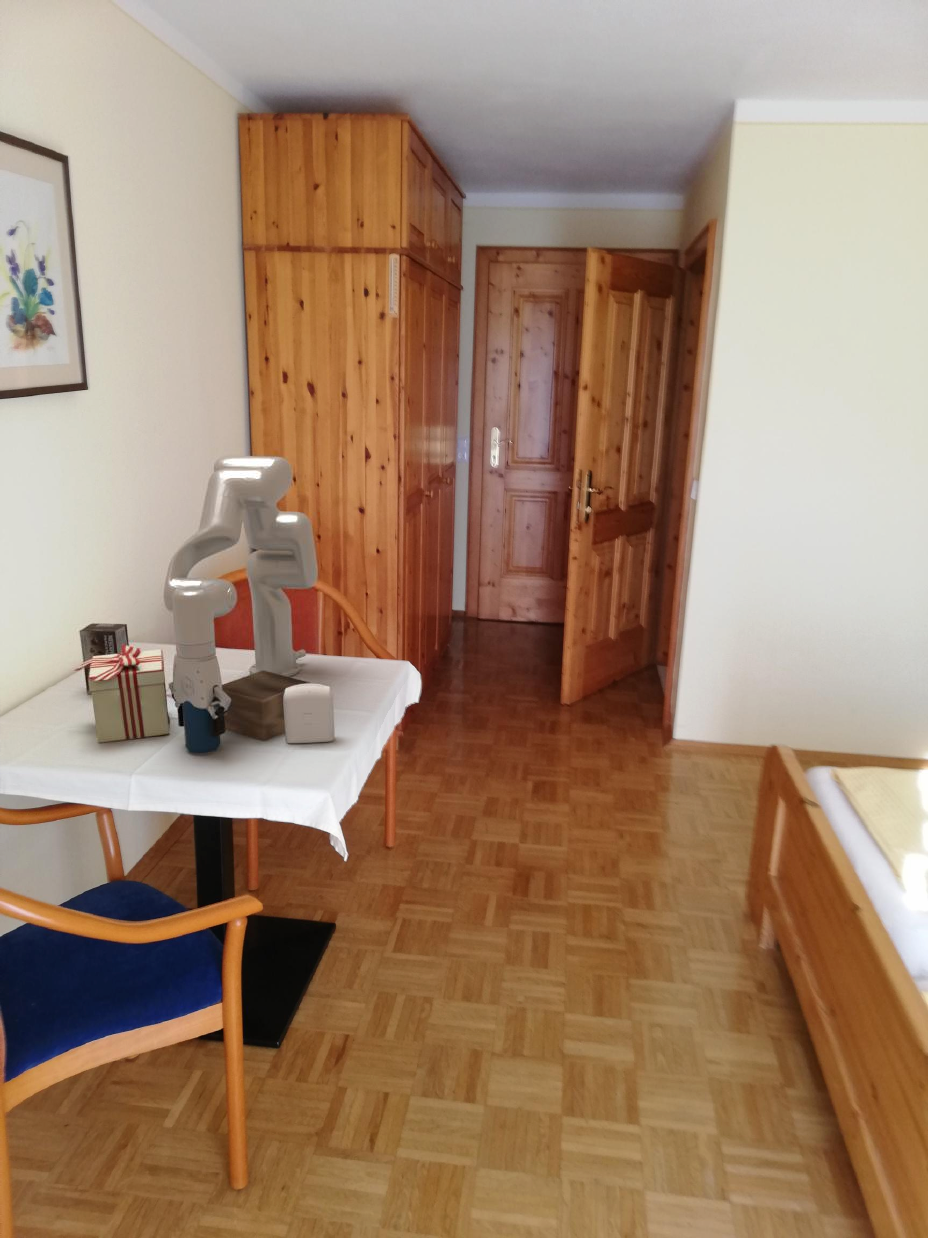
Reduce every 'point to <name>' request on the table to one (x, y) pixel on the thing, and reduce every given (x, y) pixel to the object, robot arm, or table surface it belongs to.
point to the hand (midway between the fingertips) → (201, 729)
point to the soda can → (198, 730)
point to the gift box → (128, 694)
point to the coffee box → (102, 642)
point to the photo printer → (308, 713)
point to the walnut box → (258, 704)
